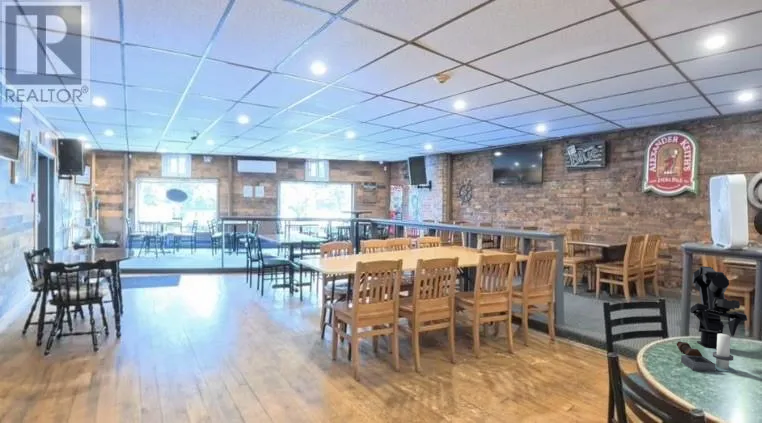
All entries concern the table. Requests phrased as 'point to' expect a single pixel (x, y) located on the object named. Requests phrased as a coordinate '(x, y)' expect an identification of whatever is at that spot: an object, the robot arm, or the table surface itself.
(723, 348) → the pin
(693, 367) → the block
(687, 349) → the bolt
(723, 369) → the mat
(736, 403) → the table surface
